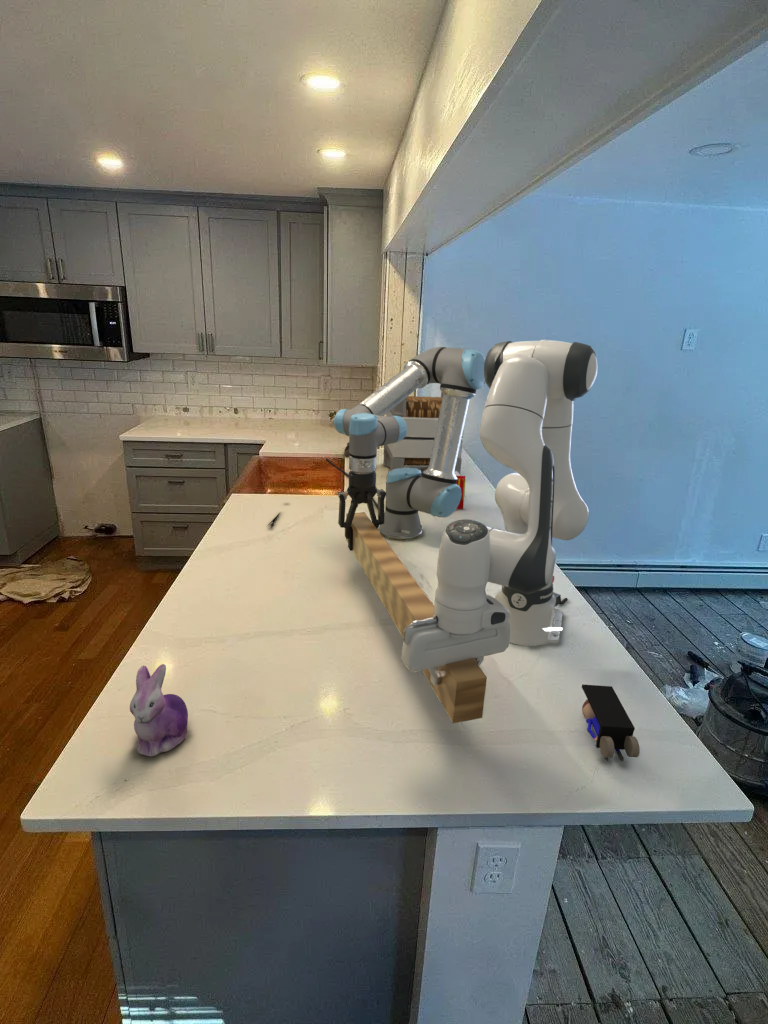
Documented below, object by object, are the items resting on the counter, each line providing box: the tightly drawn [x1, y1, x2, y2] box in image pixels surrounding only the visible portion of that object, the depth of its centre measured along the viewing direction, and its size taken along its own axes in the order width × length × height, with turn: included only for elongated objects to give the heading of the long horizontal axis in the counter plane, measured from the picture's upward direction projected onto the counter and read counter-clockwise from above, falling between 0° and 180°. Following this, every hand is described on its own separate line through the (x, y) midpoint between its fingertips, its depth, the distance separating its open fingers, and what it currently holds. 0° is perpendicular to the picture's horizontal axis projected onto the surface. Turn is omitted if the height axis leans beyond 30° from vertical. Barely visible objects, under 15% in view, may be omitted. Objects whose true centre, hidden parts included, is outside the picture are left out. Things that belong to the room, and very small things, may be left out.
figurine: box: [129, 663, 189, 757], centre depth 99 cm, size 9×10×15 cm
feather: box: [266, 512, 281, 529], centre depth 211 cm, size 2×28×2 cm
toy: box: [454, 471, 466, 510], centre depth 238 cm, size 12×13×30 cm
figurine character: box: [581, 684, 641, 762], centre depth 105 cm, size 7×8×15 cm
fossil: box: [343, 441, 349, 458], centre depth 305 cm, size 22×10×15 cm
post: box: [345, 511, 488, 724], centre depth 133 cm, size 81×6×9 cm, turn 17°
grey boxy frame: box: [383, 391, 465, 475], centre depth 268 cm, size 34×33×41 cm
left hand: (360, 547), depth 164 cm, fingers closed on post, 6 cm apart
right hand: (453, 678), depth 103 cm, fingers closed on post, 6 cm apart
